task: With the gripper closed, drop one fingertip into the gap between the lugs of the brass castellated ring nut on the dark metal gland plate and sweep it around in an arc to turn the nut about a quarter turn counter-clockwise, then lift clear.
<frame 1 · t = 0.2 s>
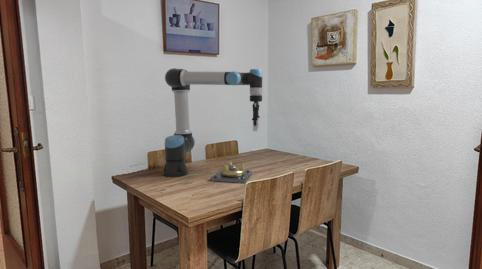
hand: (255, 129, 211), 27 cm above the table, fingers open, 13 cm apart
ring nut: (232, 168, 202), point 6 cm above the table, hinge at 0.0°
gland plate: (232, 177, 203), on the table
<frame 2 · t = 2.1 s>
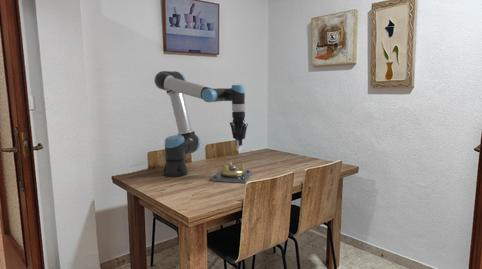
hand: (239, 150, 205), 15 cm above the table, fingers closed
nothing on the table moved.
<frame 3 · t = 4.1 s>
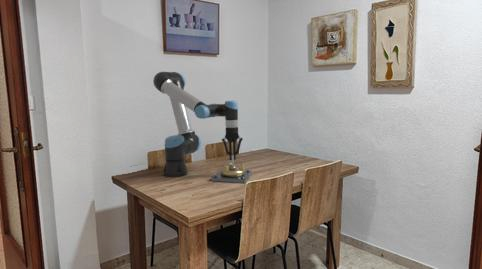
hand: (232, 165, 208), 6 cm above the table, fingers closed
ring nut: (232, 168, 202), point 6 cm above the table, hinge at 1.9°, touching gripper
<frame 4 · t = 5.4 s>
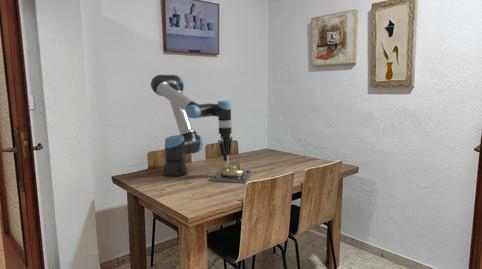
hand: (226, 165, 207), 6 cm above the table, fingers closed
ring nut: (232, 168, 202), point 6 cm above the table, hinge at 41.8°, touching gripper
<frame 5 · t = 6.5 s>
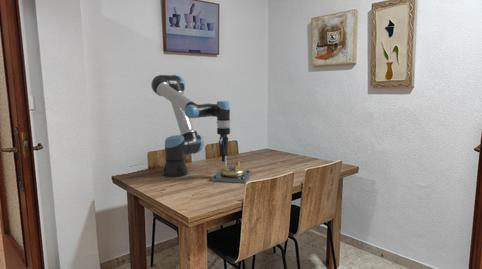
hand: (223, 166, 205), 6 cm above the table, fingers closed
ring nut: (232, 168, 202), point 6 cm above the table, hinge at 70.0°
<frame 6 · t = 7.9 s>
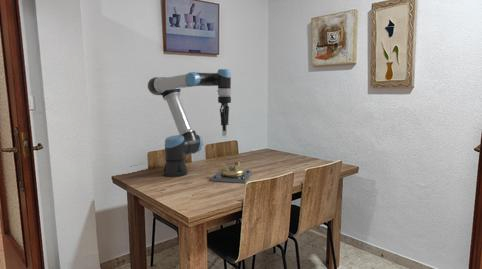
hand: (224, 136, 203), 24 cm above the table, fingers closed
nothing on the table moved.
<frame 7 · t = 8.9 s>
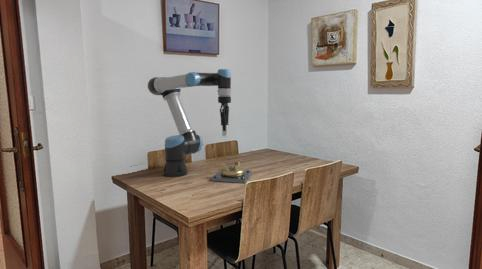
hand: (224, 136, 203), 24 cm above the table, fingers closed
nothing on the table moved.
at the end: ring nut at +70° (first picture: +0°) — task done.
